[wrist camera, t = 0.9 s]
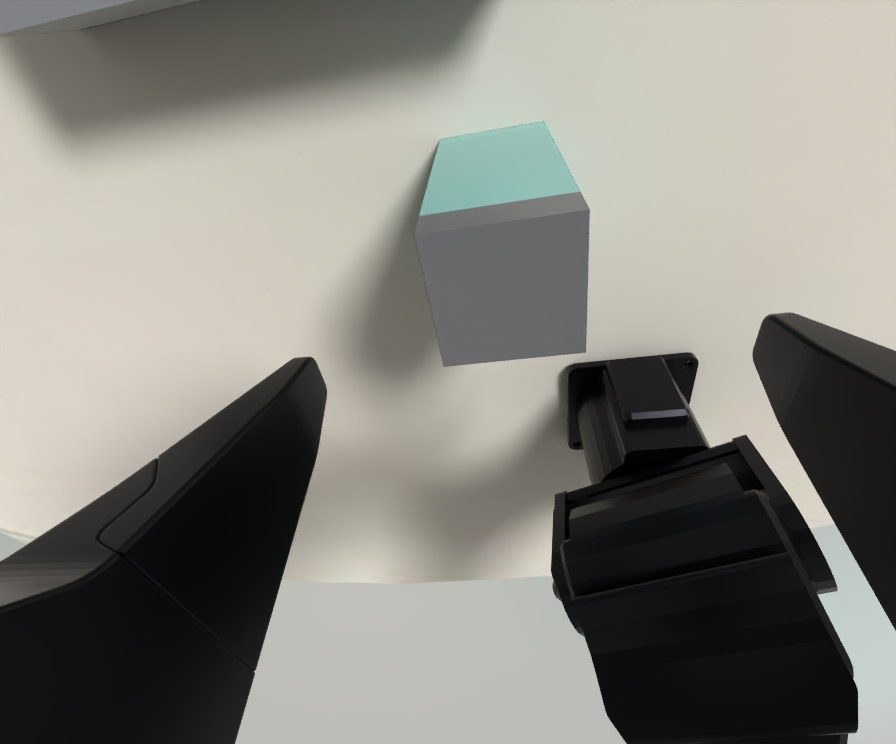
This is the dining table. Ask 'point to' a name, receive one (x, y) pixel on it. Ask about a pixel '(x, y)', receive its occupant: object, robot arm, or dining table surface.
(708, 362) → the dining table surface
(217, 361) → the dining table surface
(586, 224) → the plug
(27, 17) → the socket plate
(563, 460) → the dining table surface
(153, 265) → the dining table surface
